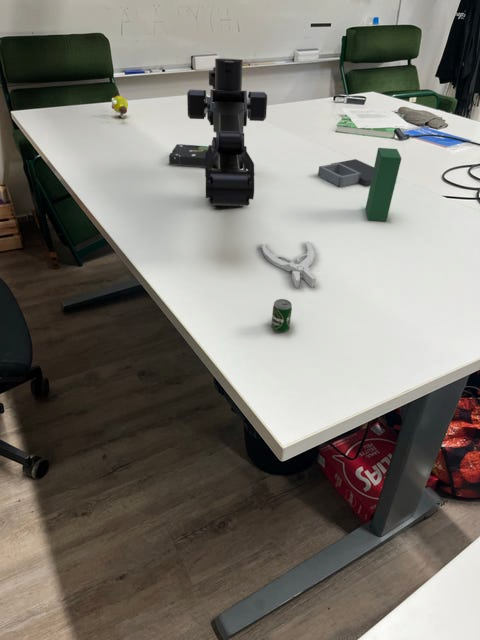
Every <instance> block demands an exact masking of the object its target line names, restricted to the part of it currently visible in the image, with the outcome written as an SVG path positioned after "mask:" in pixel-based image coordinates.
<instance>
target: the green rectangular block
mask: <svg viewBox="0 0 480 640" xmlns="http://www.w3.org/2000/svg"><path fill="white" fill-rule="evenodd" d="M375 156H376V157H375V161H374V166H373V167H374V170H373V175H372V180H371V185H370V186H369V190H368V194H367V199H366V205H365V213H366V217H367V220H368V221H376V222H377V221H378V222H387V221H388V216H389V212H390V208H391V204H392V200H393V197H394V196H393V195H394V191H395V187H396V183H397V179H398V175H399V170H400V166H401V163H402V156H401V154H400V152H399V150H398V148H388V147H378V148H377V152H376V155H375Z"/></svg>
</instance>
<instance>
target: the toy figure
mask: <svg viewBox="0 0 480 640" xmlns="http://www.w3.org/2000/svg"><path fill="white" fill-rule="evenodd" d="M111 109H112V110H114V111H115V112H116V113H118V114H119V115H118V116H117V117H118V119H124V115H126V114H127V112H128V109H129V103H128V100H127V99H126V98H125V97H124V96H122V95H119V94H116V95H115V96H114V97H112V98H111Z"/></svg>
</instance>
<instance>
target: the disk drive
mask: <svg viewBox="0 0 480 640" xmlns="http://www.w3.org/2000/svg"><path fill="white" fill-rule="evenodd" d="M208 148H209V145H208V146H207V145H194V144H183V143H182V144H181V143H179V144H178V143H177V144H176V145H175V146H174V147H173V149H172V151H171V152H170V153H169V154H168V162H169V165H173V166H185V167H201V168H205V152H206V151H207V150H208Z"/></svg>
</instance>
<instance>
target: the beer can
mask: <svg viewBox="0 0 480 640" xmlns="http://www.w3.org/2000/svg"><path fill="white" fill-rule="evenodd" d="M292 310H293V304H292V302H291V301H290V300H288V299H285V298H279V299H276V300H275V301H274V302H273V306H272V312H271V313H272V315H271V328H272V329H273V330H274V331H276V332H279V333H284V332H287V331H288V330H289V329H290V325H291V319H292V318H291V317H292Z"/></svg>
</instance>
